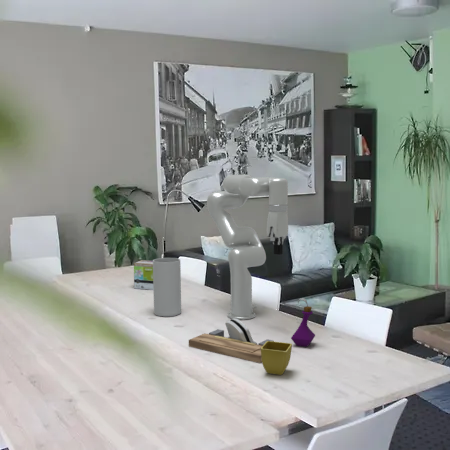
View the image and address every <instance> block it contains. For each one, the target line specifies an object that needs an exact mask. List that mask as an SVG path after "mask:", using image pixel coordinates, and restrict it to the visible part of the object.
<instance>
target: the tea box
mask: <svg viewBox="0 0 450 450" xmlns="http://www.w3.org/2000/svg"><path fill="white" fill-rule="evenodd" d="M133 286H134V287H133V288H134V289H135V290H137V289H141V290H152V291H154V287H153V260H146V259H141V260H139V261H136V262H134V263H133Z"/></svg>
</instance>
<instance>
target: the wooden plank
mask: <svg viewBox="0 0 450 450" xmlns="http://www.w3.org/2000/svg"><path fill="white" fill-rule="evenodd" d="M188 347H190V348H195V349H199V350H204V351H207V352H210V353H211V352H212V353H216V354H220V355H224V356H228V357H233V358H238V359H241V360H246V361H249V362H254V363H259V364H261V363H262V357H261V347H262V345H258V343H257V344H254V343H250V342H243V341H240V340H236V339H232V338H231V337H226V336H224V337H221V336H215V335H210V334H209V333H202V334H200V335H197V336H195V337H193V338H190V339H188Z"/></svg>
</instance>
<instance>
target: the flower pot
mask: <svg viewBox="0 0 450 450" xmlns="http://www.w3.org/2000/svg"><path fill="white" fill-rule="evenodd" d="M273 341H274V340H273ZM273 341H267V342H266V343H265V344H264V345H263V346H262V347H261V357H262V362H261V363H262V366H263V369H264V371H265V372H266V374H271V375H277V376H279V375H280V376H282V375H283V374H284V373H285V371H286V369H287V367H288V366H289V364H290V360H291V356H292V355H291V354H292V347H293V343H290V342H283V341H282V342H281V341H274V342H273Z"/></svg>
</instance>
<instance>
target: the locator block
mask: <svg viewBox="0 0 450 450" xmlns="http://www.w3.org/2000/svg"><path fill="white" fill-rule="evenodd" d="M208 334H210V335H215V336H221V337H225V330H224V329H215V330H213V331H210V332H209V333H208Z"/></svg>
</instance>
